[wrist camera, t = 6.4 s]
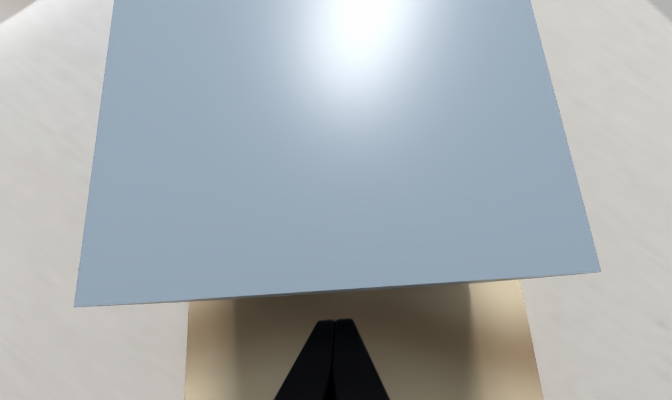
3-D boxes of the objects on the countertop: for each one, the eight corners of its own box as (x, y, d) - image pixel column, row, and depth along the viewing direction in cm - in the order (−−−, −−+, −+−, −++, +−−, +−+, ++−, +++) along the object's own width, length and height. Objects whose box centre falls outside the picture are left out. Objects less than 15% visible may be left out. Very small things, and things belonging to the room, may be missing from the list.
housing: (472, 283, 14) (600, 272, 6) (229, 299, 15) (73, 307, 7) (440, 86, 16) (504, -100, 9) (233, 109, 17) (119, -44, 9)
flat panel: (580, 659, 12) (733, 925, 7) (188, 655, 13) (73, 885, 8) (473, 95, 18) (513, 17, 13) (208, 122, 19) (150, 60, 14)
